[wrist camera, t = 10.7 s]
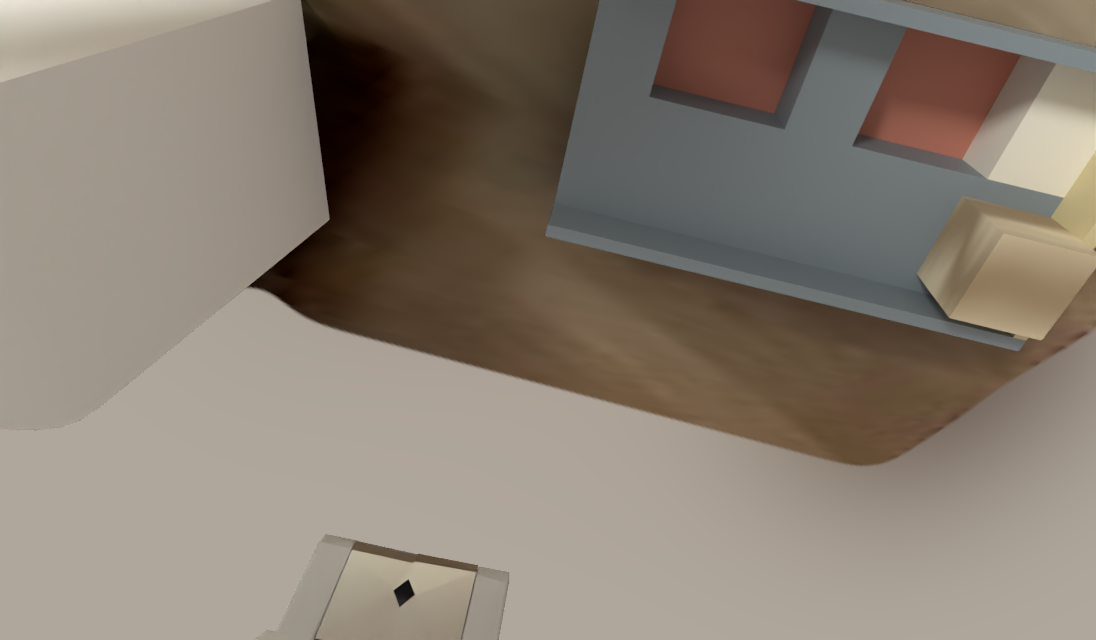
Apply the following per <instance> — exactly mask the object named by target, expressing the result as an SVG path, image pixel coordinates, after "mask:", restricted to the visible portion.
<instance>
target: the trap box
mask: <svg viewBox="0 0 1096 640" xmlns="http://www.w3.org/2000/svg"><path fill="white" fill-rule="evenodd" d="M962 196H965V197H969V198H973V199H978V200H982V201H986V202H990V203H994V204H998V205H1002V206H1006V207H1010V208H1014V209H1018V210H1022V211H1026V212H1031V213H1035V214H1039V215H1043V216H1047V217H1051V218H1052V219H1053V220H1055V221H1056V222H1057V223H1059V224H1060V225H1061V226H1063V227H1064V228H1065V229H1067V230H1068V231H1069V232H1071V233H1072V234H1073V235H1074V236H1076V237H1077V238H1078V239H1080V240H1081V241H1082V242H1084V243H1085V244H1086V245H1088V246H1089V247H1090V248H1091V249H1094V248H1095V247H1096V47H1092V46H1088V45H1084V44H1080V43H1076V42H1072V41H1067V40H1063V39H1059V38H1055V37H1051V36H1047V35H1043V34H1039V33H1035V32H1030V31H1026V30H1022V29H1018V28H1014V27H1010V26H1006V25H1002V24H997V23H993V22H989V21H985V20H981V19H977V18H973V17H969V16H965V15H960V14H956V13H952V12H948V11H944V10H940V9H936V8H932V7H928V6H923V5H919V4H915V3H911V2H907V1H903V0H600V1H599V5H598V10H597V14H596V19H595V23H594V28H593V32H592V37H591V41H590V45H589V50H588V54H587V59H586V63H585V68H584V72H583V77H582V81H581V86H580V90H579V95H578V99H577V104H576V108H575V113H574V117H573V122H572V126H571V131H570V135H569V139H568V144H567V148H566V153H565V157H564V162H563V166H562V171H561V175H560V180H559V184H558V189H557V193H556V198H555V202H554V206H553V209H552V212H551V215H550V218H549V221H548V224H547V229H546V233H545V236H546V237H550V238H554V239H558V240H562V241H566V242H571V243H575V244H579V245H583V246H587V247H591V248H595V249H599V250H603V251H608V252H612V253H616V254H620V255H624V256H628V257H632V258H636V259H640V260H644V261H649V262H653V263H657V264H661V265H665V266H669V267H673V268H677V269H681V270H686V271H690V272H694V273H698V274H702V275H706V276H710V277H714V278H718V279H723V280H727V281H731V282H735V283H739V284H743V285H747V286H751V287H755V288H760V289H764V290H768V291H772V292H776V293H780V294H784V295H788V296H792V297H797V298H801V299H805V300H809V301H813V302H817V303H821V304H825V305H829V306H834V307H838V308H842V309H846V310H850V311H854V312H858V313H862V314H866V315H870V316H875V317H879V318H883V319H887V320H891V321H895V322H899V323H903V324H907V325H912V326H916V327H920V328H924V329H928V330H932V331H936V332H940V333H944V334H949V335H953V336H957V337H961V338H965V339H969V340H973V341H977V342H981V343H986V344H990V345H994V346H998V347H1002V348H1006V349H1010V350H1014V351H1018V352H1019V350H1020V349H1021V348H1022V346H1023V345H1024V343H1025V342H1026V341H1027V339H1028V338H1029V337H1025V336H1021V335H1017V334H1013V333H1008V332H1004V331H1000V330H996V329H992V328H988V327H984V326H980V325H976V324H972V323H968V322H964V321H960V320H955V319H951V318H949V317H948V316H947V314H946V313H945V312H944V310H943V309H942V308H941V306H940V305H939V303H938V302H937V301H936V299H935V298H934V297H933V295H932V294H931V293H930V291H929V290H928V289H927V287H926V286H925V285H924V283H923V282H922V280H921V279H920V278H919V276H918V275H917V272H918V271H919V269H920V267H921V265H922V264H923V262H924V260H925V259H926V257H927V255H928V254H929V252H930V250H931V248H932V247H933V245H934V243H935V242H936V240H937V238H938V236H939V235H940V233H941V231H942V230H943V228H944V226H945V224H946V223H947V221H948V219H949V218H950V216H951V214H952V212H953V211H954V209H955V207H956V206H957V204H958V202H959V201H960V199H961V197H962Z"/></svg>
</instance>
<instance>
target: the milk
mask: <svg viewBox="0 0 1096 640" xmlns="http://www.w3.org/2000/svg"><path fill="white" fill-rule="evenodd" d="M329 220H330V219H329V211H328V203H327V196H326V188H325V181H324V173H323V165H322V158H321V150H320V143H319V135H318V127H317V120H316V112H315V105H314V97H313V89H312V82H311V74H310V67H309V59H308V52H307V44H306V36H305V29H304V21H303V14H302V6H301V0H0V429H10V430H43V429H51V428H59V427H62V426H65V425H68V424H71V423H74V422H77V421H80V420H81V419H83V418H84V417H86V416H88V415H89V414H91V413H92V412H94V411H95V410H97V409H98V408H100V407H101V406H102V405H103V404H104V403H106V402H107V401H108V400H109V399H110V398H112V397H113V396H114V395H115V394H117V393H118V392H119V391H120V390H122V389H123V388H124V387H125V386H126V385H128V384H129V383H130V382H131V381H133V380H134V379H135V378H136V377H137V376H139V375H140V374H141V373H142V372H144V371H145V370H146V369H147V368H148V367H150V366H151V365H152V364H153V363H155V362H156V361H157V360H158V359H159V358H161V357H162V356H163V355H164V354H166V353H167V352H168V351H169V350H170V349H172V348H173V347H174V346H175V345H177V344H178V343H179V342H180V341H182V340H183V339H184V338H185V337H187V336H188V335H189V334H190V333H191V332H193V331H194V330H195V329H196V328H198V327H199V326H200V325H201V324H202V323H204V322H205V321H206V320H207V319H209V318H210V317H211V316H212V315H213V314H215V313H216V312H217V311H218V310H219V309H221V308H222V307H223V306H224V305H226V304H227V303H228V302H229V301H231V300H232V299H233V298H234V297H235V296H237V295H238V294H239V293H240V292H242V291H243V290H244V289H245V288H247V287H248V286H249V285H250V284H251V283H253V282H254V281H255V280H256V279H258V278H259V277H260V276H261V275H263V274H264V273H265V272H266V271H267V270H269V269H270V268H271V267H272V266H274V265H275V264H276V263H277V262H278V261H280V260H281V259H282V258H283V257H285V256H286V255H287V254H288V253H289V252H291V251H292V250H293V249H294V248H296V247H297V246H298V245H299V244H300V243H302V242H303V241H304V240H305V239H307V238H308V237H309V236H310V235H312V234H313V233H314V232H315V231H316V230H318V229H319V228H320V227H321V226H323V225H324V224H325V223H326V222H327V221H329Z"/></svg>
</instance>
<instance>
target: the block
mask: <svg viewBox="0 0 1096 640" xmlns="http://www.w3.org/2000/svg"><path fill="white" fill-rule="evenodd" d="M1095 269H1096V252H1095V251H1094V250H1093V249H1091V248H1090V247H1089V246H1088V245H1086V244H1085V243H1084V242H1082V241H1081V240H1080V239H1078V238H1077V237H1076V236H1074V235H1073V234H1072V233H1071V232H1069V231H1068V230H1067V229H1065V228H1064V227H1063V226H1061V225H1060V224H1059V223H1057V222H1056V221H1055V220H1053V219H1052V218H1051V217H1047V216H1043V215H1039V214H1035V213H1031V212H1026V211H1022V210H1018V209H1014V208H1010V207H1006V206H1002V205H998V204H994V203H990V202H986V201H982V200H978V199H973V198H969V197H965V196H962V197H961V199H960V201H959V202H958V204H957V206H956V207H955V209H954V211H953V212H952V214H951V216H950V218H949V219H948V221H947V223H946V224H945V226H944V228H943V230H942V231H941V233H940V235H939V236H938V238H937V240H936V242H935V243H934V245H933V247H932V248H931V250H930V252H929V254H928V255H927V257H926V259H925V260H924V262H923V264H922V265H921V267H920V269H919V271H918V272H917V275H918V276H919V278H920V279H921V280H922V282H923V283H924V285H925V286H926V287H927V289H928V290H929V291H930V293H931V294H932V295H933V297H934V298H935V299H936V301H937V302H938V303H939V305H940V306H941V308H942V309H943V310H944V312H945V313H946V314H947V316H948V317H949V318H951V319H955V320H960V321H964V322H968V323H972V324H976V325H980V326H984V327H988V328H992V329H996V330H1000V331H1004V332H1008V333H1013V334H1017V335H1021V336H1025V337H1029V338H1033V339H1037V340H1041V341H1042V339H1043V338H1044V337H1045V335H1046V334H1047V333H1048V331H1049V330H1050V329H1051V327H1052V326H1053V325H1054V323H1055V322H1056V321H1057V319H1058V318H1059V317H1060V315H1061V314H1062V313H1063V312H1064V310H1065V309H1066V308H1067V306H1068V305H1069V304H1070V302H1071V301H1072V300H1073V298H1074V297H1075V296H1076V294H1077V293H1078V292H1079V290H1080V289H1081V288H1082V286H1083V285H1084V284H1085V282H1086V281H1087V280H1088V278H1089V277H1090V276H1091V274H1092V273H1093V272H1094V270H1095Z"/></svg>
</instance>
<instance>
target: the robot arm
mask: <svg viewBox="0 0 1096 640" xmlns="http://www.w3.org/2000/svg"><path fill="white" fill-rule="evenodd" d="M477 568H478V570H477ZM476 573H477V574H476ZM475 578H476V579H475ZM508 584H509V572H505V571H499V570H494V569H489V568H484V567H478V565H474V564H468V563H463V562H458V561H453V560H448V559H443V558H437V557H432V556H427V555H422V554H414V553H409V552H405V551H399V550H395V549H391V548H386V547H381V546H377V545H373V544H368V543H363V542H359V541H357V540H351V539H347V538H342V537H337V536H332V535H327V534H326V535H325V536H324V537H323V538H322V539H321V541H320V542H319V543H318V545H317V547H316V549H315V551H314V553H313V556H312V558H311V560H310V562H309V564H308V566H307V568H306V570H305V572H304V574H303V577H302V579H301V581H300V583H299V585H298V587H297V589H296V591H295V594H294V595H293V598H292V600H291V602H290V604H289V606H288V608H287V610H286V612H285V614H284V617H283V619H282V621H281V623H280V625H279V627H278V629H277V631H276V632H275V631H269V630H266V631H265V632H263V633H262V634H261V635H259V636H258V637H257V638H255V639H254V640H499V635H500V629H501V624H502V618H503V612H504V607H505V601H506V595H507V590H508Z"/></svg>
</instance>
